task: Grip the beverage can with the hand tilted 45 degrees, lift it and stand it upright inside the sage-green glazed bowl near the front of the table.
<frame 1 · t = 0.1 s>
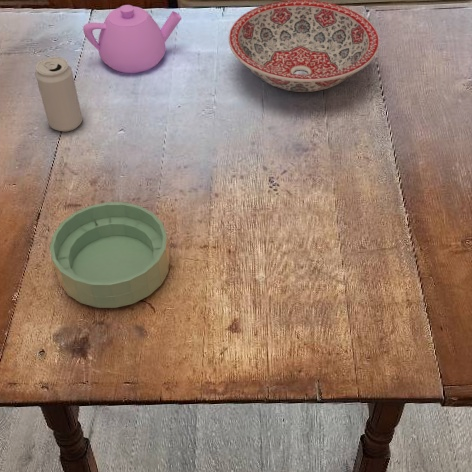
teapot: (137, 58, 142), on the table
ceramic bowl: (300, 75, 138), on the table
beverage can: (66, 124, 128), on the table
green bowl: (114, 268, 106), on the table
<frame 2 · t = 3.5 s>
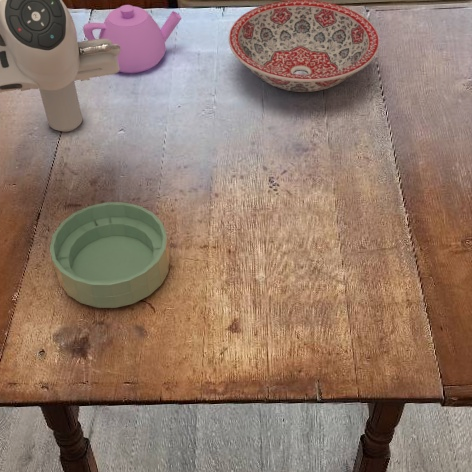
hand: (54, 80, 108), 16 cm above the table, tool tilted 45°, fingers open, 8 cm apart
nothing on the table moved.
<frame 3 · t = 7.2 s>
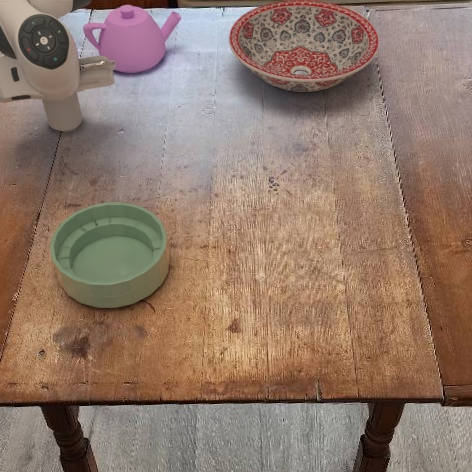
hand: (58, 90, 123), 7 cm above the table, tool tilted 45°, fingers closed on beverage can, 6 cm apart
beverage can: (66, 124, 129), on the table, touching gripper
everything else where it was.
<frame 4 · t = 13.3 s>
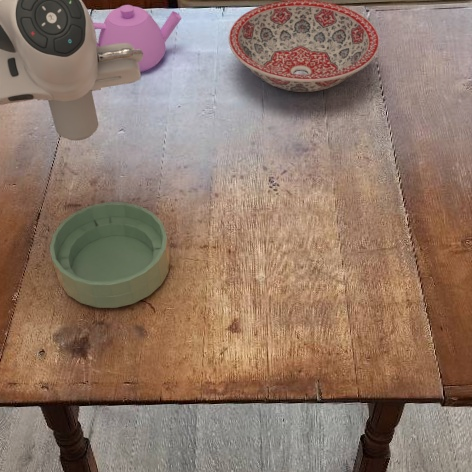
hand: (68, 89, 98), 22 cm above the table, tool tilted 45°, fingers closed on beverage can, 6 cm apart
beverage can: (78, 131, 103), point 15 cm above the table, touching gripper
everything else where it was.
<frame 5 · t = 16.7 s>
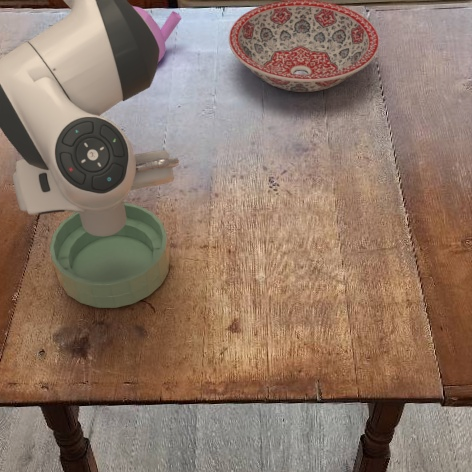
hand: (96, 186, 93), 16 cm above the table, tool tilted 45°, fingers closed on beverage can, 6 cm apart
beverage can: (105, 225, 98), point 9 cm above the table, touching gripper
everything else where it was.
when the fingers open (7 cm above the table, at t = 19.6 s): beverage can stays where it is, resting on green bowl.
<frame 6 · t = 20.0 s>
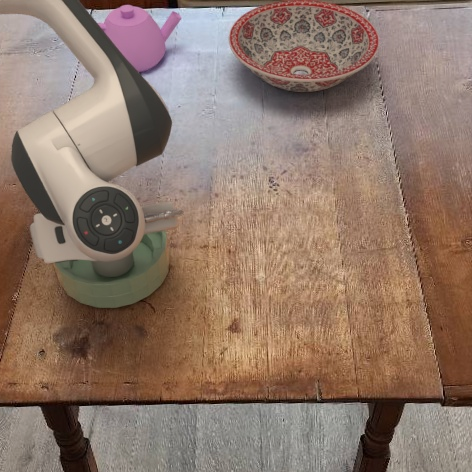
hand: (106, 230, 100), 8 cm above the table, tool tilted 45°, fingers open, 8 cm apart
beverage can: (114, 265, 105), point 1 cm above the table, touching green bowl
everything else where it was.
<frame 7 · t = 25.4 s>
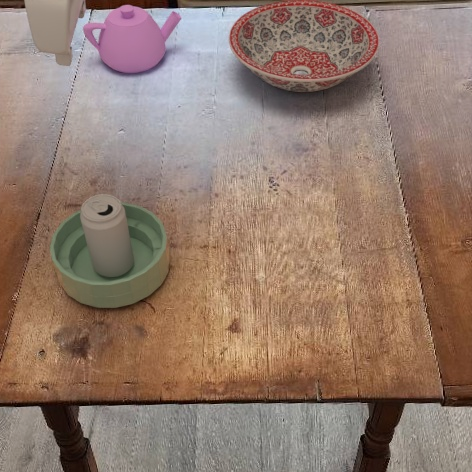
hand: (71, 37, 86), 32 cm above the table, tool pointing down, fingers open, 8 cm apart
nothing on the table moved.
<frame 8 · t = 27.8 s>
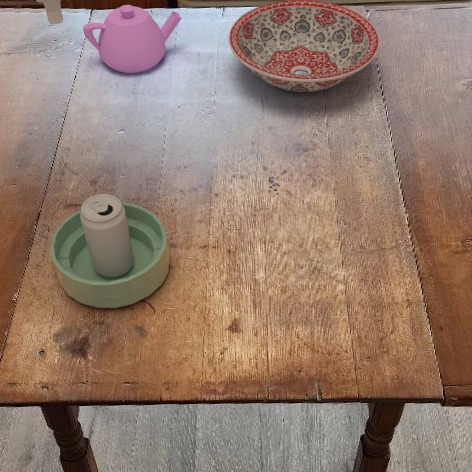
hand: (51, 2, 88), 34 cm above the table, tool pointing down, fingers open, 8 cm apart
nothing on the table moved.
at the end: beverage can inside the target area in the green bowl (0.0 cm from its centre), point 0.6 cm above the green bowl's base; beverage can tilted 0°; the gripper is holding nothing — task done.
